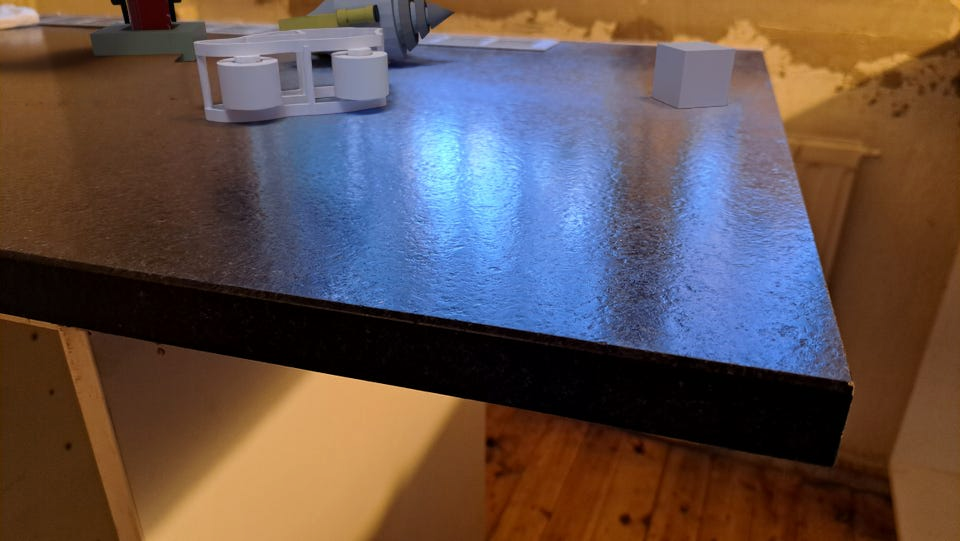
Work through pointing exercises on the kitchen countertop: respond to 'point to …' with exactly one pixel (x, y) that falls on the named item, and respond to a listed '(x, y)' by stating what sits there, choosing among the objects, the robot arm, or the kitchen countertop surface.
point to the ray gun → (375, 21)
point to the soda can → (149, 14)
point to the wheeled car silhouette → (257, 81)
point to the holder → (149, 40)
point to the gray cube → (692, 74)
